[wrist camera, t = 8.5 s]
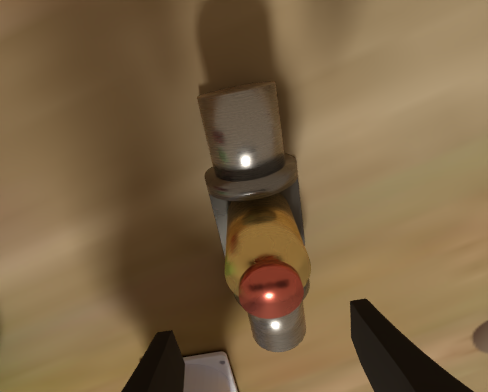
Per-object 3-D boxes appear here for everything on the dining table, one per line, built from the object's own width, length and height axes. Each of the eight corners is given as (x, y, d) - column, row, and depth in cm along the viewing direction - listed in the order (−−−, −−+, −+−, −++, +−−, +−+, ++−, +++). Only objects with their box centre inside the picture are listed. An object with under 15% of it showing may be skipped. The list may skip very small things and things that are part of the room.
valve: (295, 234, 21) (325, 317, 14) (237, 248, 21) (238, 337, 15) (283, 179, 19) (309, 244, 12) (219, 196, 20) (210, 269, 13)
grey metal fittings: (309, 295, 24) (329, 352, 19) (238, 307, 24) (240, 366, 19) (285, 75, 17) (307, 80, 12) (185, 95, 17) (167, 107, 12)
